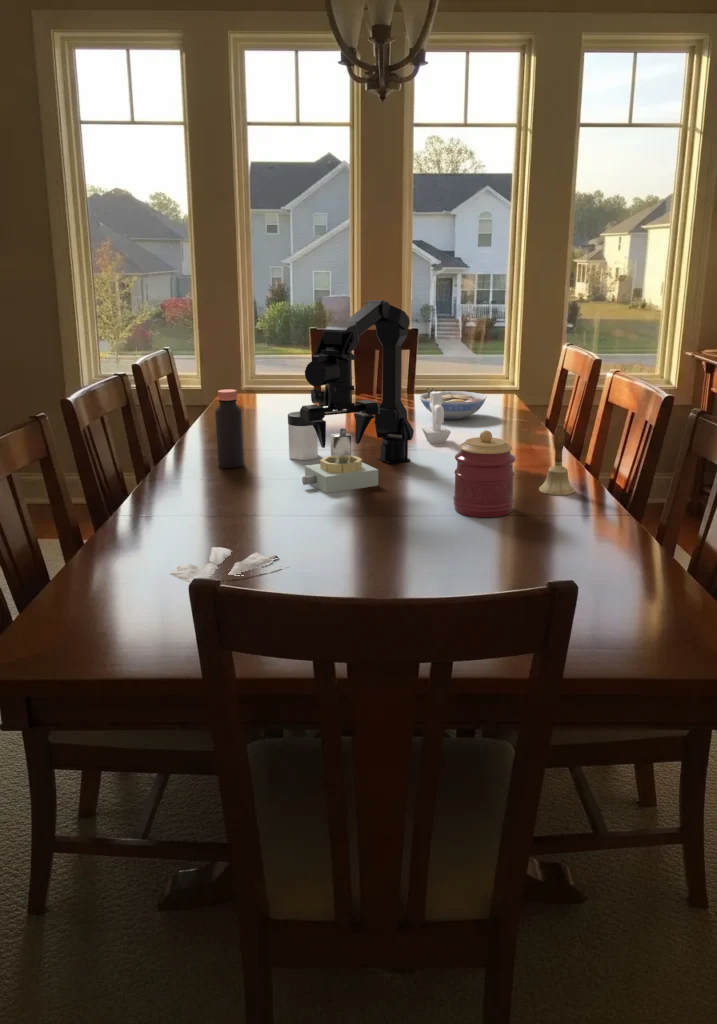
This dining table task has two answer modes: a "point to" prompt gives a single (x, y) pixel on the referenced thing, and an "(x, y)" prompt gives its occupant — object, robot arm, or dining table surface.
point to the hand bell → (557, 469)
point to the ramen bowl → (456, 403)
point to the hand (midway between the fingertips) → (340, 445)
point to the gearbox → (340, 475)
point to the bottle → (229, 430)
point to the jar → (301, 438)
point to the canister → (484, 477)
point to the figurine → (436, 421)
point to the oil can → (341, 447)
